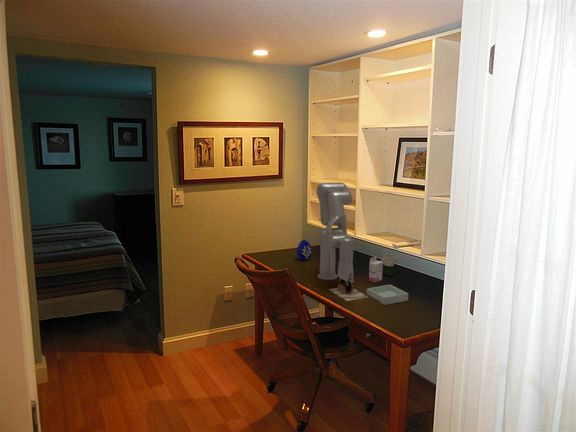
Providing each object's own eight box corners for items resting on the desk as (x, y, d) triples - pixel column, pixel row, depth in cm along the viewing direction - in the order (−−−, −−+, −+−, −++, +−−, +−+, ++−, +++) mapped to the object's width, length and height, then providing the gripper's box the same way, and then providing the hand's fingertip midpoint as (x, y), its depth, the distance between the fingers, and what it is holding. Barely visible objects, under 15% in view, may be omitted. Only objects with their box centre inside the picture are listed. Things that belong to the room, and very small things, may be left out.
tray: (366, 295, 254) (366, 288, 253) (390, 291, 260) (390, 284, 259) (383, 305, 239) (384, 297, 239) (408, 300, 246) (408, 293, 245)
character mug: (392, 272, 296) (393, 253, 293) (398, 275, 289) (399, 256, 287) (378, 274, 292) (378, 254, 290) (383, 277, 286) (384, 257, 283)
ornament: (300, 262, 319) (300, 241, 316) (294, 259, 327) (294, 239, 324) (313, 260, 324) (314, 240, 322) (307, 257, 332) (307, 237, 329)
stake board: (328, 291, 261) (328, 280, 260) (349, 287, 266) (349, 277, 265) (346, 302, 243) (347, 291, 242) (368, 298, 248) (369, 287, 247)
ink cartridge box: (375, 283, 275) (376, 259, 272) (368, 281, 278) (369, 258, 275) (382, 279, 281) (383, 256, 279) (375, 278, 284) (376, 255, 282)
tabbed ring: (338, 290, 258) (338, 283, 258) (350, 288, 262) (351, 281, 261) (343, 293, 253) (343, 287, 252) (356, 291, 257) (356, 285, 256)
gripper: (332, 256, 260) (332, 286, 263) (348, 264, 244) (347, 295, 248) (343, 255, 263) (343, 284, 266) (360, 262, 247) (359, 293, 251)
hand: (345, 289), depth 257 cm, fingers closed on tabbed ring, 5 cm apart
